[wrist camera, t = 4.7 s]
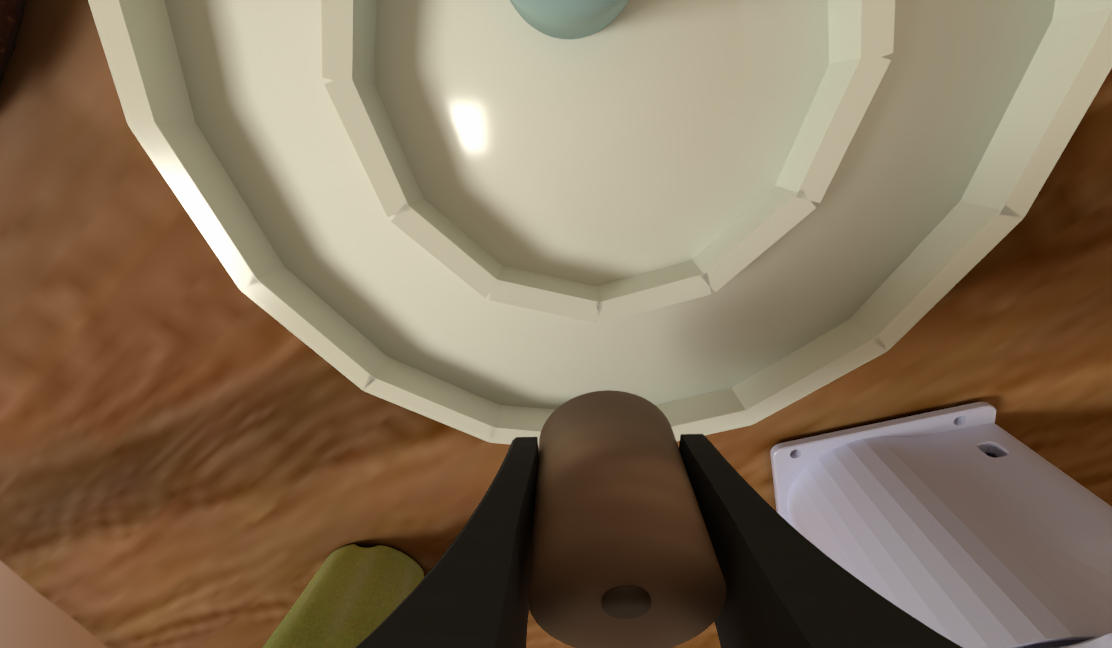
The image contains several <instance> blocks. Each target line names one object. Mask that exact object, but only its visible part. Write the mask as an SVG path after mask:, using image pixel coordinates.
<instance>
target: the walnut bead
mask: <svg viewBox="0 0 1112 648" xmlns="http://www.w3.org/2000/svg"><path fill="white" fill-rule="evenodd" d="M538 453H539V454H538V468H537V481H536V491H535V505H534V518H533V532H532V546H531V559H530V573H529V586H528V604H529V609H530V611H531V613H532V616H533V617H534V619H535V620H536V622H537V623H538V624H539V625H540V626H541V628H542V629H543V630H545V631H546V632H547V633H548V634H549V635H551V636H553V637H554V638H556V639H557V640H559V641H561V642H563V643H565V644H567V645H570V646H573V647H575V648H671V647H674V646H676V645H679V644H681V643H684V642H686V641H688V640H690V639H692V638H693V637H695V636H697V635H698V634H700V633H701V632H703V631H704V630H705V629H707V628H708V627H709V626H710V625H711V624H712V623H713V622H714V621H715V619H716V618H717V617H718V616H719V614H720V612H721V610H722V609H723V606H724V603H725V600H726V593H727V592H726V583H725V580H724V577H723V574H722V571H721V568H720V565H719V562H718V560H717V557H716V554H715V551H714V548H713V545H712V542H711V540H710V537H709V534H708V531H707V528H706V525H705V522H704V519H703V517H702V514H701V511H700V508H699V505H698V502H697V499H696V496H695V494H694V491H693V488H692V485H691V482H690V479H689V476H688V473H687V471H686V468H685V465H684V462H683V459H682V456H681V453H680V451H679V448H678V445H677V442H676V439H675V436H674V433H673V430H672V428H671V425H670V423H669V421H668V419H667V417H666V416H665V415H664V413H663V412H662V411H661V410H660V409H659V408H658V407H657V406H655V405H654V404H653V403H651V402H650V401H648V400H646V399H645V398H643V397H640V396H638V395H635V394H631V393H628V392H622V391H612V390H606V391H595V392H590V393H586V394H583V395H580V396H577V397H575V398H572V399H570V400H569V401H567V402H565V403H564V404H562V405H561V406H559V407H558V408H557V409H556V410H555V411H554V412H553V413H552V414H551V415H550V416H549V418H548V419H547V420H546V422H545V424H544V426H543V428H542V431H541V434H540V439H539V450H538Z"/></svg>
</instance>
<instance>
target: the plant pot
mask: <svg viewBox="0 0 1112 648" xmlns="http://www.w3.org/2000/svg"><path fill="white" fill-rule="evenodd" d="M423 579H424V572H423V570H422V568H421V567H420V566H419V565H418V563H416V562H415V561H414V560H413V559H412V558H410V557H409V556H407V555H406V554H404V553H402V552H400V551H398V550H396V549H393V548H390V547H387V546H383V545H378V546H375V547H369V548H364V547H359V546H357V545H355V544H351V545H347V546H344V547H342V548H339V549H337V550H336V551H334V552H333V553H331V554H330V555H329V557H328V558H327V559H326V560H325V562H324V563H323V565H322V566H321V567H320V569H319V570H318V572H317V573H316V574H315V576H314V577H313V578H312V580H311V581H310V583H309V584H308V585H307V587H306V588H305V590H304V591H303V593H302V594H301V595H300V597H299V598H298V600H297V601H296V603H295V604H294V605H293V607H292V608H291V609H290V611H289V612H288V614H287V615H286V616H285V618H284V619H283V621H282V622H281V623H280V625H279V626H278V627H277V629H276V630H275V631H274V633H273V634H272V636H271V637H270V638H269V640H268V641H267V642H266V644H265V645H264V647H263V648H355V647H356V646H358V645H359V644H360V643H361V642H362V641H363V640H364V639H365V638H366V637H367V636H369V635H370V634H371V633H372V632H373V631H374V630H375V629H376V628H377V627H378V626H379V625H380V624H381V623H382V622H383V621H384V620H385V619H386V618H387V617H388V616H389V615H390V614H391V613H392V612H393V611H394V610H395V609H396V608H397V607H398V605H399V604H400V603H401V602H402V601H403V600H404V599H405V598H406V597H407V596H408V595H409V594H410V593H411V592H412V591H413V590H414V589H415V588H416V586H417V585H418V584H419V583H420V582H421V581H422V580H423Z"/></svg>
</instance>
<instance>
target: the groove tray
mask: <svg viewBox="0 0 1112 648" xmlns="http://www.w3.org/2000/svg"><path fill="white" fill-rule="evenodd" d="M88 2H89V5H90V8H91V11H92V15H93V18H94V21H95V24H96V27H97V30H98V33H99V36H100V40H101V43H102V46H103V49H104V52H105V55H106V58H107V61H108V65H109V68H110V71H111V74H112V77H113V80H114V83H115V86H116V89H117V93H118V96H119V99H120V102H121V105H122V108H123V111H124V114H125V118H126V121H127V124H128V125H129V128H130V129H131V130H132V132H133V133H134V135H135V136H136V138H137V139H138V141H139V142H140V144H141V145H142V147H143V148H144V150H145V151H146V153H147V154H148V156H149V157H150V158H151V160H152V161H153V163H154V164H155V166H156V167H157V169H158V170H159V172H160V173H161V175H162V176H163V178H164V179H165V181H166V182H167V184H168V185H169V186H170V188H171V189H172V191H173V192H174V194H175V195H176V197H177V198H178V200H179V201H180V203H181V204H182V206H183V207H184V209H185V210H186V212H187V213H188V214H189V216H190V217H191V219H192V220H193V222H194V223H195V225H196V226H197V228H198V229H199V231H200V232H201V234H202V235H203V237H204V238H205V240H206V241H207V242H208V244H209V245H210V247H211V248H212V250H213V251H214V253H215V254H216V256H217V257H218V259H219V260H220V262H221V263H222V265H223V266H224V268H225V269H226V270H227V272H228V273H229V275H230V276H231V278H232V279H233V281H234V282H235V284H236V285H237V287H238V288H239V290H240V291H241V292H243V293H244V294H245V295H246V296H248V297H249V298H250V299H251V300H252V301H254V302H255V303H256V304H257V305H259V306H260V307H261V308H262V309H264V310H265V311H266V312H267V313H268V314H270V315H271V316H272V317H273V318H275V319H276V320H277V321H278V322H279V323H281V324H282V325H283V326H284V327H286V328H287V329H288V330H289V331H290V332H292V333H293V334H294V335H295V336H297V337H298V338H299V339H300V340H301V341H303V342H304V343H305V344H306V345H308V346H309V347H310V348H311V349H312V350H314V351H315V352H316V353H317V354H319V355H320V356H321V357H322V358H323V359H325V360H326V361H327V362H328V363H330V364H331V365H332V366H333V367H334V368H336V369H337V370H338V371H339V372H341V373H342V374H343V375H344V376H345V377H347V378H348V379H349V380H350V381H352V382H353V383H354V384H355V385H356V386H358V387H359V388H360V389H361V390H363V391H365V392H367V393H370V394H372V395H375V396H377V397H379V398H382V399H384V400H387V401H389V402H392V403H394V404H397V405H399V406H401V407H404V408H406V409H409V410H411V411H414V412H416V413H419V414H421V415H424V416H426V417H428V418H431V419H433V420H436V421H438V422H441V423H443V424H446V425H448V426H450V427H453V428H455V429H458V430H460V431H463V432H465V433H468V434H470V435H473V436H475V437H477V438H480V439H482V440H485V441H487V442H490V443H500V444H511V443H512V440H514V439H515V438H516V437H537V439H538V447H539V439H540V434H541V431H542V428H543V426H544V424H545V422H546V420H547V419H548V418H549V416H550V415H551V414H552V413H553V412H554V411H555V410H556V409H557V408H558V407H559V406H561V405H562V404H564V403H565V402H567V401H569V400H570V399H572V398H575V397H577V396H580V395H583V394H586V393H590V392H595V391H606V390H612V391H622V392H628V393H631V394H635V395H638V396H640V397H643V398H645V399H646V400H648V401H650V402H651V403H653V404H654V405H655V406H657V407H658V408H659V409H660V410H661V411H662V412H663V413H664V415H665V416H666V417H667V419H668V421H669V423H670V425H671V428H672V430H673V433H674V436H675V439H676V441H680V436H681V434H703V435H708V434H713V433H718V432H722V431H727V430H731V429H736V428H741V427H745V426H750V425H753V424H755V423H757V422H759V421H760V420H762V419H764V418H766V417H768V416H770V415H771V414H773V413H775V412H777V411H779V410H781V409H782V408H784V407H786V406H788V405H790V404H792V403H793V402H795V401H797V400H799V399H801V398H803V397H804V396H806V395H808V394H810V393H812V392H814V391H815V390H817V389H819V388H821V387H823V386H825V385H826V384H828V383H830V382H832V381H834V380H836V379H837V378H839V377H841V376H843V375H845V374H847V373H848V372H850V371H852V370H854V369H856V368H858V367H859V366H861V365H863V364H865V363H867V362H869V361H870V360H872V359H874V358H876V357H878V356H880V355H881V354H883V353H885V352H887V350H889V349H890V348H891V347H893V346H894V345H895V344H896V343H897V342H898V341H899V340H900V339H901V338H902V337H903V336H904V335H905V334H906V333H907V332H908V331H909V330H910V329H911V328H912V327H913V326H914V325H915V324H916V323H917V322H918V321H919V320H920V319H921V318H922V317H923V316H924V315H925V314H926V313H927V312H928V311H929V310H930V309H931V308H932V307H933V306H935V305H936V304H937V303H938V302H939V301H940V300H941V299H942V298H943V297H944V296H945V295H946V294H947V293H948V292H949V291H950V290H951V289H952V288H953V287H954V286H955V285H956V284H957V283H958V282H959V281H960V280H961V279H962V278H963V277H964V276H965V275H966V274H967V273H968V272H969V271H970V270H971V269H972V268H973V267H974V266H975V265H977V264H978V263H979V262H980V261H981V260H982V259H983V258H984V257H985V256H986V255H987V254H988V253H989V252H990V251H991V250H992V249H993V248H994V247H995V246H996V245H997V244H998V243H999V242H1000V241H1001V240H1002V239H1003V238H1004V237H1005V236H1006V235H1007V234H1008V233H1009V232H1010V231H1011V230H1012V229H1013V228H1014V227H1015V226H1016V225H1017V224H1019V223H1020V222H1021V221H1022V220H1023V219H1024V218H1023V217H1025V216H1026V214H1027V212H1028V211H1029V209H1030V207H1031V205H1032V204H1033V202H1034V200H1035V199H1036V197H1037V195H1038V193H1039V192H1040V190H1041V188H1042V187H1043V185H1044V183H1045V181H1046V180H1047V178H1048V176H1049V175H1050V173H1051V171H1052V170H1053V168H1054V166H1055V164H1056V163H1057V161H1058V159H1059V158H1060V156H1061V154H1062V152H1063V151H1064V149H1065V147H1066V146H1067V144H1068V142H1069V140H1070V139H1071V137H1072V135H1073V134H1074V132H1075V130H1076V128H1077V127H1078V125H1079V123H1080V122H1081V120H1082V118H1083V116H1084V115H1085V113H1086V111H1087V110H1088V108H1089V106H1090V104H1091V103H1092V101H1093V99H1094V98H1095V96H1096V94H1097V92H1098V91H1099V89H1100V87H1101V86H1102V84H1103V82H1104V80H1105V79H1106V77H1107V75H1108V74H1109V72H1110V70H1111V68H1112V0H629V1H628V3H627V5H626V6H625V8H624V9H623V10H622V12H621V13H620V14H619V15H618V16H617V17H616V18H615V19H614V21H612V22H611V23H610V24H609V25H608V26H606V27H605V28H603V29H602V30H600V31H599V32H597V33H595V34H592V35H590V36H587V37H584V38H579V39H559V38H554V37H551V36H548V35H545V34H543V33H542V32H540V31H538V30H536V29H535V28H533V27H532V26H531V25H529V24H528V23H527V22H526V21H525V20H524V19H523V18H522V17H521V16H520V14H519V13H518V12H517V11H516V9H515V8H514V6H513V5H512V3H511V1H510V0H88Z"/></svg>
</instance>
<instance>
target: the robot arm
mask: <svg viewBox="0 0 1112 648" xmlns="http://www.w3.org/2000/svg"><path fill="white" fill-rule="evenodd" d="M995 418H996V408H995V407H994V406H992V405H991V404H989V403H988V402H976V403H971V404H966V405H961V406H956V407H952V408H947V409H942V410H937V411H932V412H928V413H923V414H918V415H913V416H908V417H904V418H899V419H894V420H889V421H884V422H880V423H875V424H870V425H865V426H860V427H856V428H851V429H846V430H841V431H836V432H831V433H827V434H822V435H817V436H812V437H807V438H803V439H798V440H793V441H788V442H783V443H779V444H776V445H775V446H774V447H773V448H772V449H771V452H770V455H771V464H772V473H773V482H774V491H775V500H776V509H777V512H776V511H775V510H774V509H773V508H772V507H771V506H770V505H769V504H768V503H767V502H766V501H765V500H764V499H763V498H762V497H761V496H760V495H759V494H758V493H757V492H756V491H755V490H754V489H753V488H752V487H751V486H750V485H749V484H748V483H747V482H746V481H745V480H744V479H743V478H742V477H741V476H740V475H739V473H738V472H737V471H736V470H735V469H734V468H733V467H732V466H731V465H730V464H729V463H728V461H727V460H726V459H725V458H724V457H723V456H722V455H721V454H720V453H719V451H718V450H717V449H716V448H715V447H714V446H713V445H712V443H711V442H710V441H709V440H708V439H707V438H706V437H705V436H704V435H703V434H681V436H680V445H679V451H680V453H681V456H682V459H683V462H684V465H685V468H686V471H687V473H688V476H689V479H690V482H691V485H692V488H693V491H694V494H695V496H696V499H697V502H698V505H699V508H700V511H701V514H702V517H703V519H704V522H705V525H706V528H707V531H708V534H709V537H710V540H711V542H712V545H713V548H714V551H715V554H716V557H717V560H718V562H719V565H720V568H721V571H722V574H723V577H724V580H725V583H726V592H727V593H726V600H725V603H724V606H723V609H722V610H721V612H720V614H719V616H718V617H717V618H716V619H715V625H716V628H717V632H718V636H719V640H720V645H721V648H1112V507H1111V506H1110V505H1109V504H1107V503H1106V502H1104V501H1103V500H1102V499H1100V498H1099V497H1097V496H1096V495H1095V494H1093V493H1092V492H1090V491H1089V490H1088V489H1086V488H1085V487H1083V486H1082V485H1081V484H1079V483H1078V482H1076V481H1075V480H1074V479H1072V478H1071V477H1069V476H1068V475H1067V474H1065V473H1064V472H1062V471H1061V470H1060V469H1058V468H1057V467H1055V466H1054V465H1053V464H1051V463H1050V462H1048V461H1047V460H1046V459H1044V458H1043V457H1041V456H1040V455H1039V454H1037V453H1036V452H1034V451H1033V450H1032V449H1030V448H1029V447H1027V446H1026V445H1025V444H1023V443H1022V442H1020V441H1019V440H1018V439H1016V438H1015V437H1013V436H1012V435H1011V434H1009V433H1008V432H1006V431H1005V430H1004V429H1002V428H1001V427H999V426H998V425H997V424H995ZM794 450H795V451H794ZM792 451H793V452H792ZM538 454H539V453H538V439H537V437H516V438H515V439H514V440H512V443H511V446H510V448H509V450H508V453H507V455H506V457H505V459H504V461H503V463H502V465H501V467H500V469H499V471H498V473H497V475H496V477H495V478H494V480H493V482H492V484H491V485H490V487H489V489H488V491H487V492H486V494H485V496H484V497H483V499H482V501H481V502H480V504H479V505H478V507H477V508H476V510H475V511H474V513H473V514H472V516H471V518H470V519H469V521H468V522H467V524H466V525H465V526H464V528H463V529H462V531H461V532H460V533H459V535H458V536H457V538H456V539H455V540H454V542H453V543H452V544H451V546H450V547H449V548H448V549H447V551H446V552H445V553H444V555H443V556H442V557H441V558H440V560H439V561H438V562H437V563H436V564H435V565H434V567H433V568H432V569H431V570H430V571H429V573H428V574H427V575H426V576H425V577H424V579H423V580H422V581H421V582H420V583H419V584H418V585H417V586H416V588H415V589H414V590H413V591H412V592H411V593H410V594H409V595H408V596H407V597H406V598H405V599H404V600H403V601H402V602H401V603H400V604H399V605H398V607H397V608H396V609H395V610H394V611H393V612H392V613H391V614H390V615H389V616H388V617H387V618H386V619H385V620H384V621H383V622H382V623H381V624H380V625H379V626H378V627H377V628H376V629H375V630H374V631H373V632H372V633H371V634H370V635H369V636H367V637H366V638H365V639H364V640H363V641H362V642H361V643H360V644H359V645H358V646H356V647H355V648H526V635H527V621H528V611H529V604H528V586H529V573H530V559H531V546H532V532H533V518H534V505H535V491H536V481H537V468H538Z"/></svg>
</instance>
